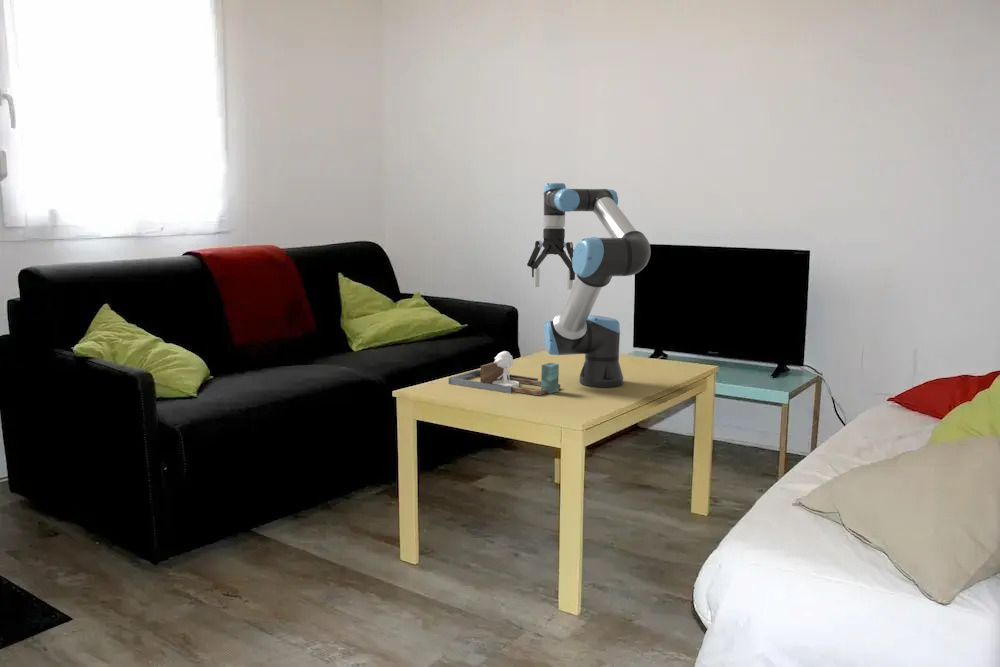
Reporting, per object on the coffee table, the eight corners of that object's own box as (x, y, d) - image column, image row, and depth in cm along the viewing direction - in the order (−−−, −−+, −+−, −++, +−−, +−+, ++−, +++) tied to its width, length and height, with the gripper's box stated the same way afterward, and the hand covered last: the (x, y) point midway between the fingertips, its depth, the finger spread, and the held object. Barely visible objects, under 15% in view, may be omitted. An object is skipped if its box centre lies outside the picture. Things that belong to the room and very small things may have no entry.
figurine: (518, 389, 290) (519, 353, 288) (491, 388, 290) (492, 353, 288) (519, 383, 299) (519, 349, 297) (492, 382, 299) (493, 348, 297)
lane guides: (538, 383, 298) (538, 378, 297) (510, 393, 283) (510, 387, 283) (477, 375, 311) (477, 369, 311) (448, 383, 297) (448, 377, 297)
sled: (564, 388, 290) (565, 362, 289) (543, 396, 279) (544, 368, 277) (502, 379, 303) (503, 354, 302) (480, 386, 292) (480, 360, 291)
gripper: (590, 228, 299) (589, 289, 302) (529, 226, 313) (528, 284, 316) (580, 229, 293) (579, 291, 296) (518, 226, 306) (517, 286, 310)
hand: (552, 288), depth 306 cm, fingers open, 13 cm apart
